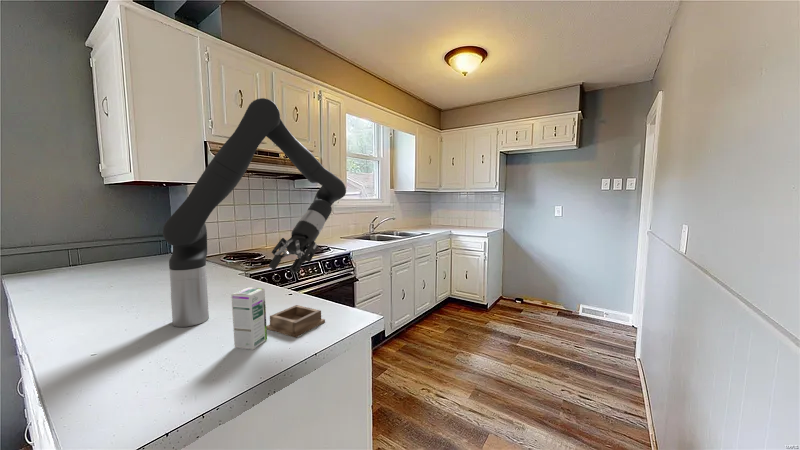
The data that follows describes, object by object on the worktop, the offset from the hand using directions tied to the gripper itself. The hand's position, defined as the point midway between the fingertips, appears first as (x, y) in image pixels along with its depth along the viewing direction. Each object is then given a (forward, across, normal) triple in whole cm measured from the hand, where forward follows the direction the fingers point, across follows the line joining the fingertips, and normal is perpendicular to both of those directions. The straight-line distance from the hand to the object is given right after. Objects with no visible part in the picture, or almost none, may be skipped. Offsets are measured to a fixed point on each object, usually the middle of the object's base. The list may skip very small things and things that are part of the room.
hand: (281, 269), depth 89 cm
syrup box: (+20, 0, +5) cm, 21 cm away
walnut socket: (+10, +2, +15) cm, 18 cm away
